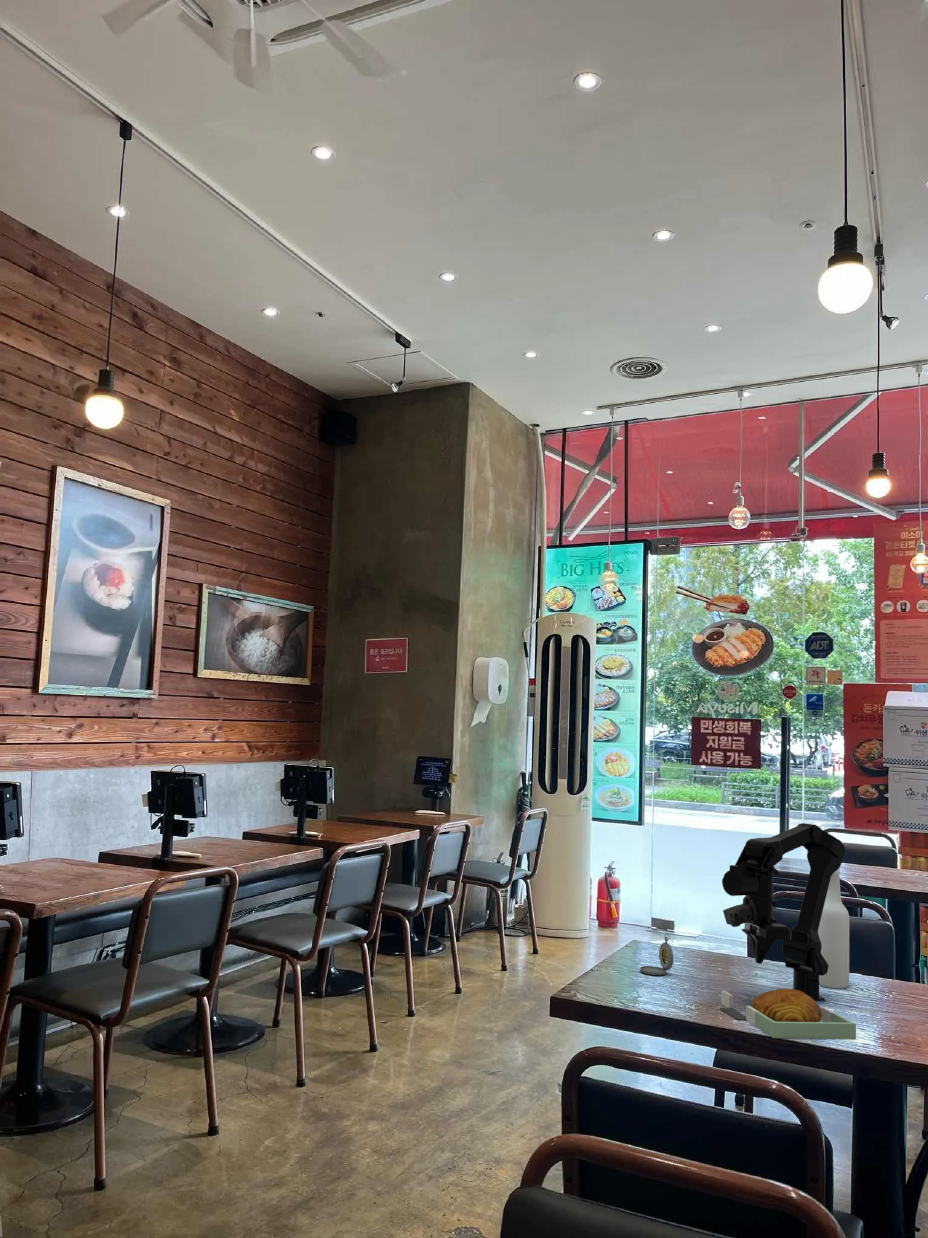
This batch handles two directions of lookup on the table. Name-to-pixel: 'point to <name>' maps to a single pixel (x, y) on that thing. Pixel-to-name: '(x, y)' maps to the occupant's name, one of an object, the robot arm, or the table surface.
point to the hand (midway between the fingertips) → (758, 963)
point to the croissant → (788, 1006)
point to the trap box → (794, 1023)
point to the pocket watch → (661, 960)
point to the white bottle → (835, 937)
